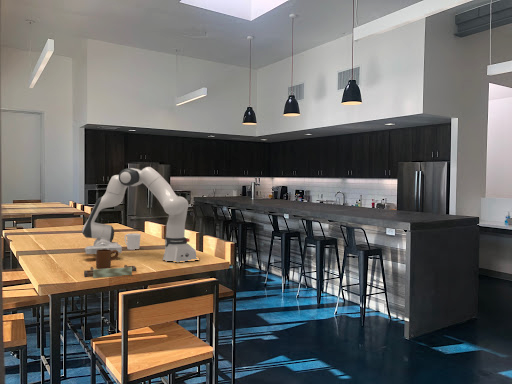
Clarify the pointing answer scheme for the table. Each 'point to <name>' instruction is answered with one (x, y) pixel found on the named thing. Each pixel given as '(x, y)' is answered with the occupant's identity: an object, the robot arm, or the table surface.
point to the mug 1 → (105, 258)
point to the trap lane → (109, 272)
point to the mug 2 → (132, 241)
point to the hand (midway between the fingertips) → (105, 251)
